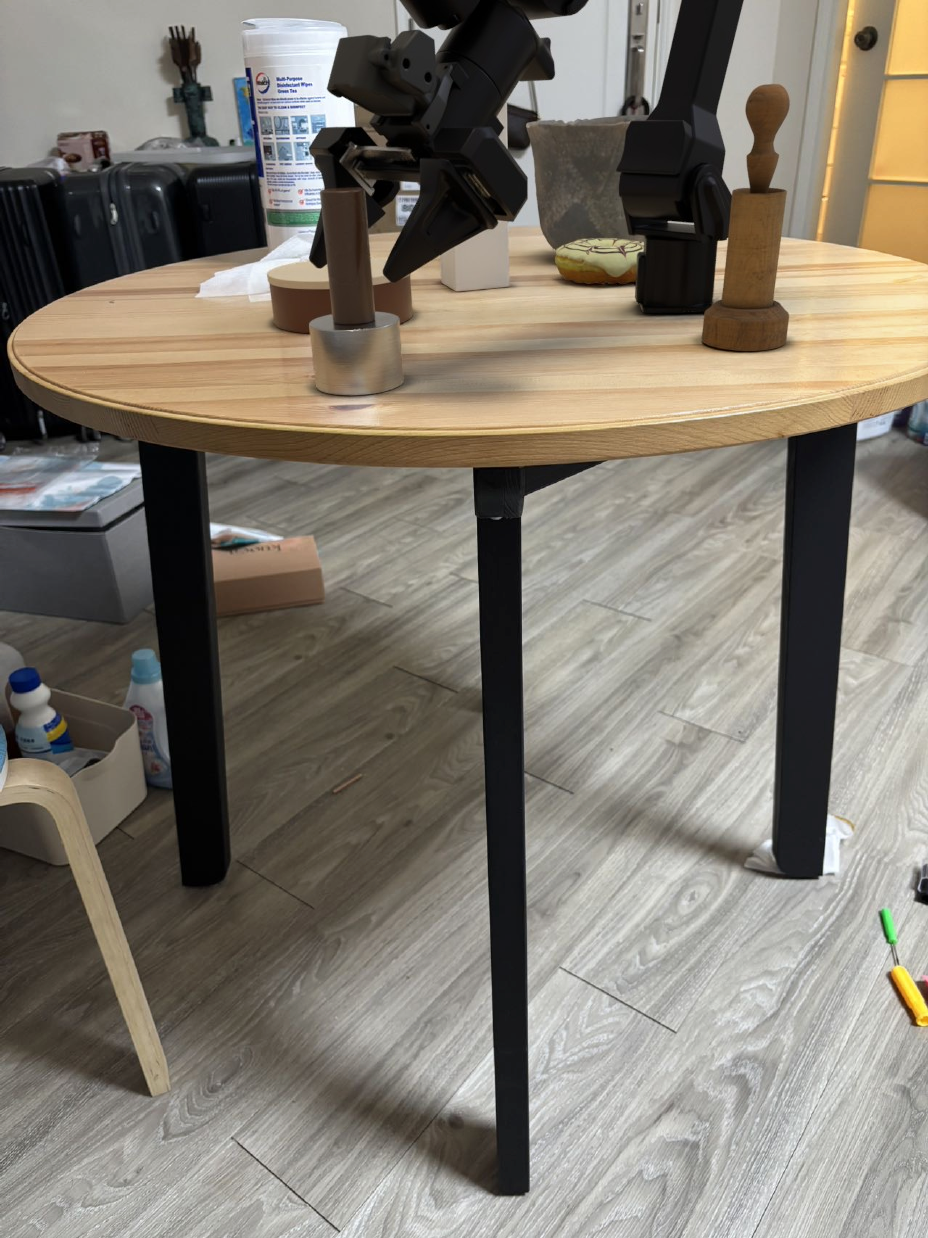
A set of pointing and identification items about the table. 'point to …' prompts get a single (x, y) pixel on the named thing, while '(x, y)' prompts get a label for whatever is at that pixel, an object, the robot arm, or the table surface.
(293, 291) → the cake
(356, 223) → the brown and silver tamper
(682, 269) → the robot arm
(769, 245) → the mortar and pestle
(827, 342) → the table surface
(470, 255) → the milk
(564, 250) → the decorated donut
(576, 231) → the grey stone pot
